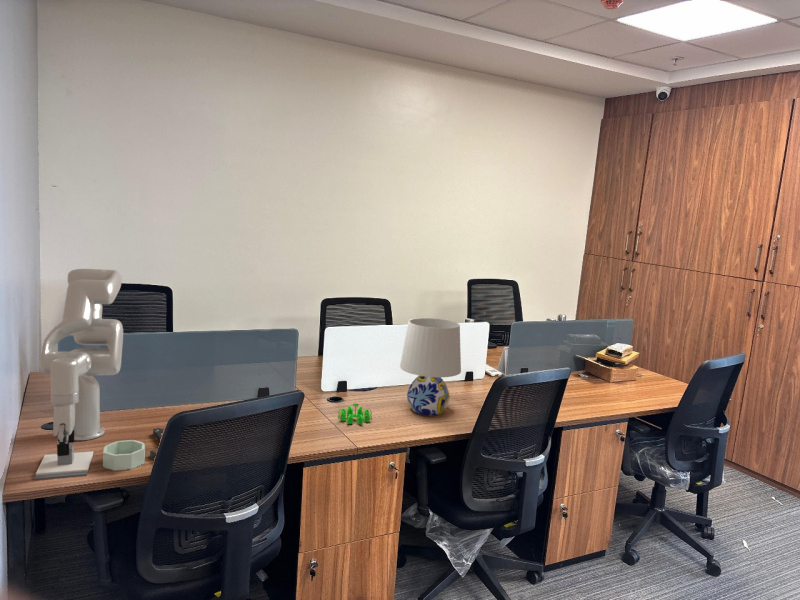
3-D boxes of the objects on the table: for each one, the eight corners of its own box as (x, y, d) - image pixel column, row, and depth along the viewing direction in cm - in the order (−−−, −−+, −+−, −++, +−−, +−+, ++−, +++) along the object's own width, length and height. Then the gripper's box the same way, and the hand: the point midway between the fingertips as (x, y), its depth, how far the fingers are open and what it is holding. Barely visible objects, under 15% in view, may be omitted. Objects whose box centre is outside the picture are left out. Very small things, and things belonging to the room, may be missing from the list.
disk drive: (152, 436, 216) (163, 450, 204) (152, 428, 215) (163, 442, 204) (181, 431, 222) (193, 444, 210) (181, 424, 222) (193, 437, 210)
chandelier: (377, 417, 250) (378, 402, 249) (365, 429, 236) (366, 412, 235) (345, 412, 255) (346, 396, 254) (330, 423, 240) (331, 406, 239)
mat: (46, 455, 193) (46, 454, 193) (94, 452, 198) (94, 450, 198) (34, 480, 176) (34, 478, 176) (86, 475, 181) (86, 474, 181)
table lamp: (412, 396, 281) (418, 314, 275) (465, 408, 270) (473, 323, 264) (386, 412, 257) (392, 322, 251) (444, 425, 246) (451, 332, 240)
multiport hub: (163, 468, 190) (163, 462, 190) (149, 457, 198) (149, 450, 197) (176, 465, 193) (176, 458, 193) (162, 454, 201) (162, 447, 200)
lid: (45, 456, 191) (44, 440, 190) (93, 453, 196) (93, 437, 195) (35, 475, 178) (35, 457, 177) (87, 471, 183) (87, 454, 182)
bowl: (106, 456, 195) (106, 441, 195) (145, 453, 200) (145, 439, 199) (101, 471, 184) (101, 456, 184) (143, 468, 189) (143, 453, 188)
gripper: (56, 388, 190) (57, 438, 193) (45, 407, 174) (46, 461, 177) (82, 388, 193) (83, 437, 196) (74, 406, 177) (75, 459, 180)
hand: (66, 448), depth 187 cm, fingers open, 9 cm apart
